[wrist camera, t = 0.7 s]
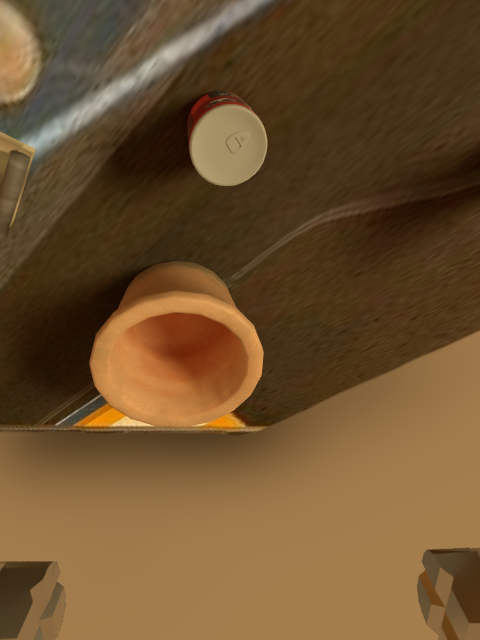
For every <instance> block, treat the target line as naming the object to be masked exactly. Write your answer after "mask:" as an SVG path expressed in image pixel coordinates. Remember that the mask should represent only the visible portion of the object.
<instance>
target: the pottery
mask: <svg viewBox="0 0 480 640" xmlns="http://www.w3.org/2000/svg"><path fill="white" fill-rule="evenodd" d="M89 364H90V369H91V373H92V377H93V381H94V385H95V387H96V388H97V390H98V391H99V392H100V394H101V395H102V396H103V397H104V399H105V400H106V401H107V402H108V404H109V405H110V406H112V407H113V408H115V409H116V410H118V411H120V412H121V413H123V414H124V415H126V416H128V417H129V418H131V419H134V420H137V421H141V422H144V423H148V424H151V425H154V426H167V427H187V426H192V425H197V424H202V423H207V422H211V421H213V420H215V419H217V418H219V417H221V416H223V415H225V414H227V413H230V412H232V411H233V410H234V409H236V408H237V407H238V406H239V405H240V404H241V403H242V402H243V401H245V400H246V399H247V398H248V397H249V396H250V395H251V394H252V392H253V390H254V388H255V386H256V384H257V382H258V381H259V379H260V377H261V375H262V365H263V349H262V345H261V343H260V340H259V338H258V335H257V333H256V330H255V328H254V325H253V324H252V323H251V322H250V321H249V320H248V319H247V318H246V317H245V316H244V315H243V314H242V313H241V312H240V311H239V310H238V309H237V308H236V306H235V304H234V302H233V300H232V298H231V296H230V293H229V291H228V289H227V286H226V284H225V283H224V282H223V281H222V280H221V279H220V278H219V277H218V276H217V275H216V274H215V273H214V272H213V271H211V270H209V269H207V268H205V267H203V266H201V265H199V264H196V263H191V262H183V261H170V262H165V263H160V264H155V265H153V266H151V267H150V268H148V269H146V270H144V271H143V272H141V273H139V274H138V275H137V276H136V277H135V279H134V280H133V281H132V282H131V283H130V285H129V286H128V287H127V289H126V292H125V294H124V296H123V298H122V301H121V303H120V305H119V307H118V309H117V311H115V312H114V313H113V314H112V315H111V316H110V317H109V319H108V320H107V321H106V322H105V323H104V325H103V326H102V327H101V328H100V330H99V331H98V332H97V333H96V337H95V341H94V345H93V349H92V353H91V357H90V361H89Z"/></svg>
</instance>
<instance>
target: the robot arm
mask: <svg viewBox="0 0 480 640" xmlns="http://www.w3.org/2000/svg"><path fill="white" fill-rule="evenodd" d="M422 563H423V565H424V567H425V571H424V572H423V573H422V574H420V575H419V578H418V584H417V592H418V601H419V604H420V608H421V611H422V614H423V616H424V619H425V621H426V624H427V625H428V626H429V627H430V628H431V629H432V630H433V631H434V632H435V633H437V634H438V635H439V637H438V640H480V548H472V549H470V548H454V549H433V550H426V551H425V552H424V554H423V559H422ZM59 575H60V569H59V566H58V563H57V562H0V640H55V639H56V638H57V637H58V634H59V631H60V628H61V625H62V622H63V617H64V612H65V605H66V604H65V591H64V587H63V586H62V585H61V584H60V583H58V582H57V580H58V577H59Z"/></svg>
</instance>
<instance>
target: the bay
mask: <svg viewBox="0 0 480 640" xmlns="http://www.w3.org/2000/svg"><path fill="white" fill-rule="evenodd" d="M35 151H36V149H35V148H33V147H31V146H28V145H26V144H24V143H22V142H20V141H18V140H16V139H14V138H12V137H10V136H8V135H6V134H4V133H2V132H0V239H5V238H6V237H7V234H8V231H9V228H10V226H11V225H12V224H13V222H14V219H15V215H16V212H17V209H18V206H19V202H20V199H21V196H22V193H23V189H24V186H25V183H26V180H27V176H28V173H29V170H30V167H31V164H32V160H33V157H34V154H35Z"/></svg>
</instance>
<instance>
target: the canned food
mask: <svg viewBox="0 0 480 640" xmlns="http://www.w3.org/2000/svg"><path fill="white" fill-rule="evenodd" d="M187 133H188V143H189V152H190V157H191V160H192V163H193V165H194V167H195V168H196V170H197V171H198V173H199V174H200V175H201V176H202V177H203V178H205V179H206V180H207V181H209V182H211V183H213V184H216V185H220V186H232V185H237V184H240V183H242V182H244V181H246V180H248V179H249V178H250V177H252V176H253V175H254V174H255V173H256V172H257V171H258V169H259V168H260V166H261V165H262V163H263V161H264V158H265V155H266V151H267V136H266V132H265V129H264V126H263V124H262V122H261V121H260V119H259V118H258V116H257V115H256V114H255V112H254V111H253V110H252V109H251V108H250V107H249V106H248V105H247V104H246V102H245V101H244V100H243V99H241V98H240V97H239V96H238V95H236V94H234V93H231V92H228V91H214V92H211V93H208V94H206V95H205V96H203V97H201V98H200V99H199V100H198V101H197V102H196V104H195V105H194V106H193V108H192V110H191V112H190V114H189V117H188V122H187Z"/></svg>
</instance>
